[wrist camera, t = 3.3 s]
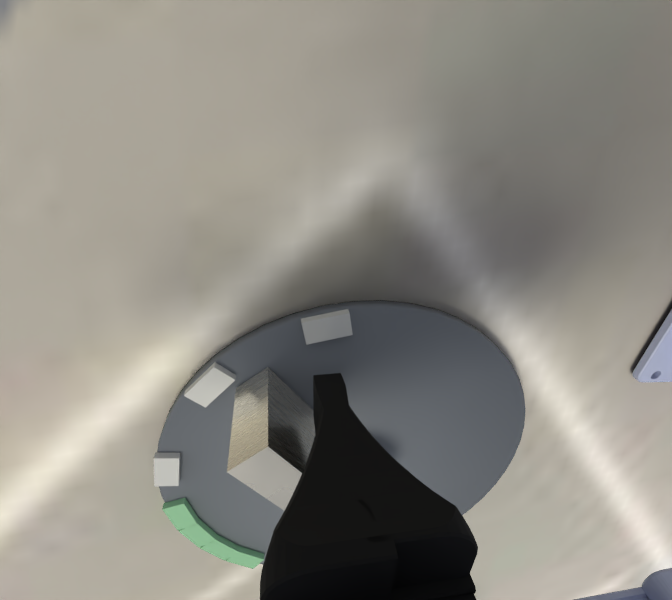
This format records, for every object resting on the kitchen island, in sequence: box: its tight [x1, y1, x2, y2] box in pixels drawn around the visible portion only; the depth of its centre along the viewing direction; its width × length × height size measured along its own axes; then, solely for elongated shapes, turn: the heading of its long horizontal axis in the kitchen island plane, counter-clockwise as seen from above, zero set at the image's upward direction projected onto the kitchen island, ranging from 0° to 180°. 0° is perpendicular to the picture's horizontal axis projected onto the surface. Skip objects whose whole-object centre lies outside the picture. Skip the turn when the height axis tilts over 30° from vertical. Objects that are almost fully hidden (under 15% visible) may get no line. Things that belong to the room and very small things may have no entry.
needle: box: [227, 367, 315, 511], centre depth 15 cm, size 9×4×4 cm, turn 33°
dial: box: [154, 301, 525, 569], centre depth 18 cm, size 18×18×1 cm
